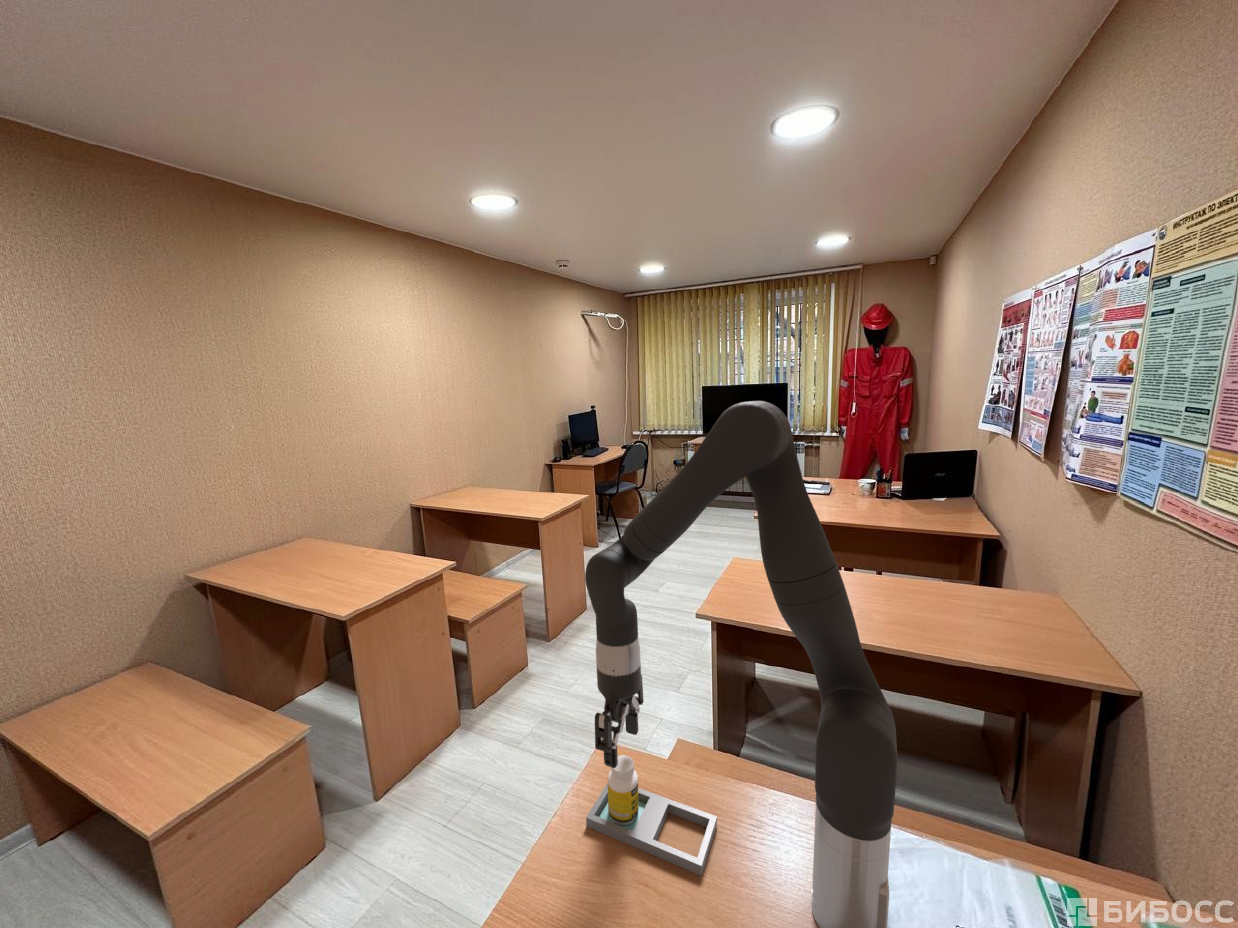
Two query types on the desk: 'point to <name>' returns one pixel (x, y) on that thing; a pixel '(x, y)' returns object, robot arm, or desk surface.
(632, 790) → the supplement bottle
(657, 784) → the desk surface
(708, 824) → the frame
